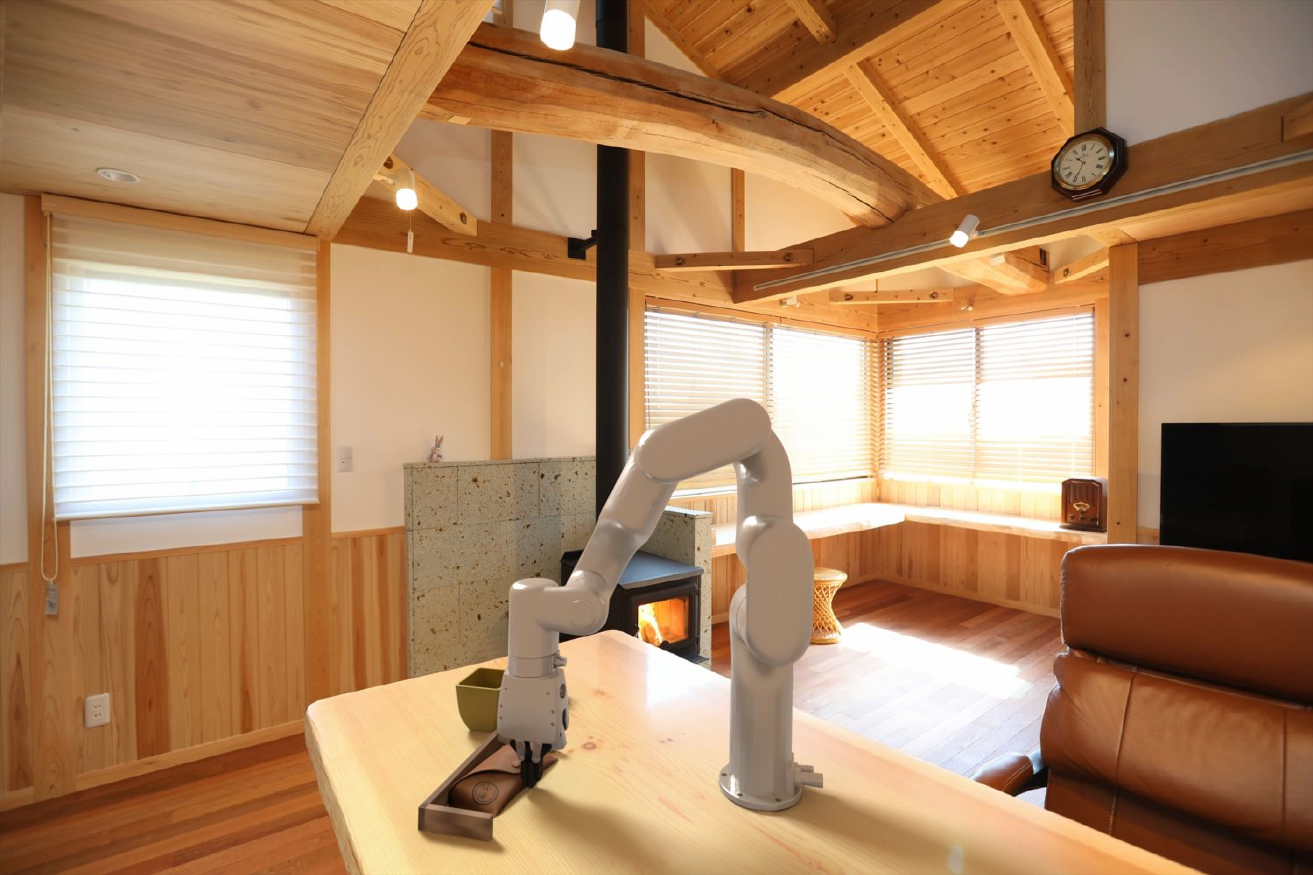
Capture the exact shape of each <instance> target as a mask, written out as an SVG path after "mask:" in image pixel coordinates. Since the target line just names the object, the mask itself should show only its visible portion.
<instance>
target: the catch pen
mask: <svg viewBox="0 0 1313 875" xmlns="http://www.w3.org/2000/svg"><path fill="white" fill-rule="evenodd" d="M498 735H499V733H498V729H496V730H495V731H494V732H491V733H490V735H489V736H488V737H487V738H486V739H485V740H484V741H483V742H482V743H481V744H480V745H479V746H478V747H477V748H476V749H475V750H474V751H473V752H472V753H471V754H470V755H469V756H468V757H467V758H466V759H465V760H464V761H463V762H462V763H460V765H459V766H458V767H457V768H456V769H455V770H454V771H453V772H452V773H450V775H449V776H448V777H447V778H446V779H445V780H444V781H443V782H442V783H441V784H440V785H439V786H438V787H437V788H436V789H435V790H434V791H433V792H432V793H431V794H430V795H429V796H428V797H427V798H426V799H425V800H424V801H423V802H422V803H421V804H420V805H419V806H418V807H417V810H418V812H417V816H418V817H417V830H419V831H425V832H429V833H436V834H442V835H449V836H453V837H459V838H465V839H466V838H467V839H471V840H477V841H484V842H490V841H491V839H493V836H494V818H493V814H489V813H483V812H477V811H470V810H464V809H458V808H451V807H450V806H449V803H448V793H449V791H450V789H451V787H452V786H453V785H454V784H455V783H456V782H457V781H458V780H459V779H461V778H462V777H464V776H466V775H467V774H468V773H470V772H471V771H472V770H473V769H475V768H476V767H477V766H478V765H480V764H481V763H482V762H484V761H485V760H486V759H487V758H489V757H490V756H491V755H493V754H494V753H495V752H497V751H498V750H500V749H501V748H502V747H504V746H505V745H507V744H505V743H502V742H500V741H499V740H498ZM556 751H557V750H555V751H553V750H551V751H549V752H548V753H554V754H555V753H556Z"/></svg>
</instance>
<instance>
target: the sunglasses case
mask: <svg viewBox="0 0 1313 875" xmlns="http://www.w3.org/2000/svg"><path fill="white" fill-rule="evenodd" d="M531 743H532V751H533V748H534V742H531ZM558 760H559V758H557V757H554V756H552V755H551V754H549V752H548V753H547V754H546V755H545V756H544V757H543V772H544V771H545V770H547V769H548V768H549V767H551V766H552V765H554V764H555V763H556V762H557V761H558ZM520 763H521V761H520V760H518V758H517V753H516V752H515V751H514V750H513V748H512V747H511V746H510V745H505V746H502V747H501V748H500V749H499V750H498V751H497V752H495V753H494V754H493V755H491V756H490V757H489V758H487V759H486V760H485V761H484V762H482V763H481V764H480V765H478V766H477V767H476V768H475V769H473V770H472V771H471V772H470V773H468V774H467V775H466V776H464V777H462V778H461V779H459V780H458V781H457V782H456V783H455V784H454V785H453V786H452V787H451V789H450V791H449V793H448V803H449V805H448V807H451V808H458V809H464V810H470V811H477V812H483V813H489V814H493V819H495V818H497V816H499V815H500V814H501V812H502V811H503V810H504V809H505V807H506V806H507V805H508V804H509V803H511V801H512V800H513V799H514V798H515V797H516V796H518V795H519V794H520V793H521V792H522V791H523V790H524V789H525V788H522V778H520Z"/></svg>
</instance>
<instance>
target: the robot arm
mask: <svg viewBox="0 0 1313 875" xmlns="http://www.w3.org/2000/svg"><path fill="white" fill-rule="evenodd" d="M729 465H732V466H733V469H734V472H735V477H736V478H735V479H736V494H737V495H736V498H737V499H736V500H737V501H736V504H737V505H736V528H735V529H736V530H735V541H734V545H735V553H736V555H737V558H738V559H739V561H740V563H741V564H742V565H743V567H745V582H744V583H743V584H742V585H740V586H739V588H738V589H737V590H736V591H735V592H734V594H733V596H732V598H731V601H730V605H729V613H728V623H729V625H728V626H729V638H730V639H729V641H730V699H729V700H730V702H729V704H730V705H729V706H730V711H729V762H728V763H727V764H726V765H724V766H723V767H722V769H721V770H720V772H719V775H718V784H719V785H718V786H719V789H720V790H721V792H722V793H723V794H724V795H725V796H726V798H728V799H729V800H730V801H732V802H734V804H737V805H739V806H742V807H744V808H747V809H750V810H756V811H761V810H762V811H764V812H774V811H775V812H776V811H779V810H780V811H782V810H785V809H788V808H790V807H792V806H794V805H796V803H798V802H799V801H800V799H801V798H802V793H803V789H802V788H803V786H808V787H812V788H817V789H823V788H824V775H823V773H819V772H815V771H814V770H815V769H814V765H811V764H810V765H808V764H805V765H804V764H799V762H797V761H795V757H794V756H795V755H794V754H795V753H794V752H793V721H794V720H793V717H794V716H793V714H794V711H793V710H794V709H793V707H794V702H793V701H794V664H795V663H796V662H798V661H799V660H800V659H801V658H802V657H803V656H804V655H805V653H806V652H807V650H808V648H809V646H810V644H811V641H812V635H813V629H814V606H815V605H814V602H815V600H814V598H815V596H814V595H815V559H814V553H813V549H812V545H811V541H810V539H809V537H808V536H807V534H806V533H805V532H804V530H803V529H801V527H800V526H798V525H797V524H796V523H794V512H793V511H794V510H793V509H794V502H793V500H794V498H793V476H792V475H793V474H792V466H791V463H790V460H789V456H788V454H787V451H786V449H785V446H784V445H783V442H781V440H780V438H779V437H778V435H777V434H776V433H775V432H774V430H773V429H772V421H771V418H770V414H769V413H768V411H767V410H766V409H765V407H764V406H763V405H761V404H760V403H759V402H757V401H756V400H753V399H750V398H746V397H736V398H732V399H730V400H727V401H724V402H721V403H719V404H717V405H714V406H712V407H709V408H706V409H703V410H701V411H697V412H695V413H692V414H690V415H687V416H684V417H681V418H678V419H675V420H672V421H669V422H666V423H661V424H658V425H655V426H653V427H650V428H648V429H647V430H645V431H644V433H643V434H641V436H640V437H639V439H638V441H637V443H636V445H635V447H634V448H633V450H632V452H631V454H630V456H629V458H628V460H627V462H626V463H625V466H624V468H623V469H622V472H621V473H620V476H619V477H618V479H617V481H616V483H615V485H614V486H613V489H612V490H611V493H610V495H609V496H608V498H607V499H606V502H605V504H604V506H603V507H602V510H601V512H600V513H599V516H598V519H597V522H596V526H595V528H594V530H593V532H592V534H591V536H590V538H589V541H588V543H587V544H586V546H585V547H584V550H583V552H582V554H581V556H580V557H579V559H578V561H577V563H576V564H575V567H574V569H573V571H572V573H571V574H570V577H569V578H568V580H567V583H566V584H565V585H563V586H559V585H558V583H557V582H556V581H555V580H552V579H550V578H546V577H545V578H544V577H528V578H522V579H519V580H516V581H515V582H514V583H512V584H511V586H510V588H509V592H508V632H507V633H508V634H507V635H508V641H507V642H508V643H507V644H508V645H507V648H508V650H507V667H508V668H506V669H505V671H504V675H503V679H502V684H501V689H500V695H499V703H498V716H497V729H498V733H499V735H498V740H499V741H500V742H502V743H505V744H507V745H510V746H511V747H512V748H513V750H514V751H515V752H516V753H517V758H518V760H520V761H521V763H520V778H522V788H524V789H527V788H528V789H529V790H533V789H534V788H535V787H536V786H537V784H538V783H539V782H540V781H541V780H542V778H543V775H544V771H543V757H544V756H545V755H546V754H547V753H548V754H549V753H550V752H549V751H551V750H553V751H555V750H556V751H560V750H563V749H565V747H566V746H567V743H568V741H567V736H566V731H567V730H568V729H569V725H570V708H569V697H568V696H569V694H568V686H567V681H566V674H565V670H564V669H563V668H562V667H564V668H565V667H567V664H568V658H567V657H566V656H565V657H564V656H563V655H561V650H560V649H559V648H560V647H559V644H560V640H559V639H560V633H562V634H566V635H572V636H589V635H593V634H594V633H597V632H598V631H599V630H601V629H603V628H602V627H604V625H605V624H606V622H607V619H608V615H609V611H610V610H609V609H610V600H611V597H612V595H613V593H614V592H615V589H616V587H617V585H618V583H619V581H620V580H621V577H622V575H623V574H624V572H625V569H626V568H627V566H628V564H629V562H630V561H631V559H632V558H633V556H634V555H635V554H636V552H637V551H638V550H639V549H640V548H641V547H642V546H643V545H644V544H645V543H647V542H648V540H649V539H650V537H652V535H653V532H654V531H655V529H656V527H657V525H658V523H659V522H660V519H661V517H662V515H663V513H664V511H665V510H666V507H667V506H668V504H669V502H670V500H671V497H672V496H673V494H674V492H675V491H676V489H677V487H678V485H679V483H680V482H683V481H686V480H689V479H693V478H695V477H699V476H702V475H704V474H707V473H710V472H712V471H714V470H718V469H721V468H723V467H727V466H729ZM531 742H534V748H533V751H532V743H531ZM556 751H555V752H556ZM781 809H782V810H781Z"/></svg>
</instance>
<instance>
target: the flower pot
mask: <svg viewBox="0 0 1313 875" xmlns="http://www.w3.org/2000/svg"><path fill="white" fill-rule="evenodd" d="M505 670H506V669H505V668H493V667H484V666H478V667H476V668H475V669H473V671H472V672H470V673H469V674H468V675H467V676H465V677H464V678H462V679H461V680H460V681H458V682H457V683H456V684H455V694H456V700H457V701H456V702H457V708H458V713H459V716H460V718H461V720H462V722H463V724H464V726H466V728H467V729H468V730H469V731H477V732H484V733H493V732H494V731H495V730H496V729H497V716H498V703H499V695H500V689H501V684H502V679H503V675H504V671H505Z"/></svg>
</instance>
